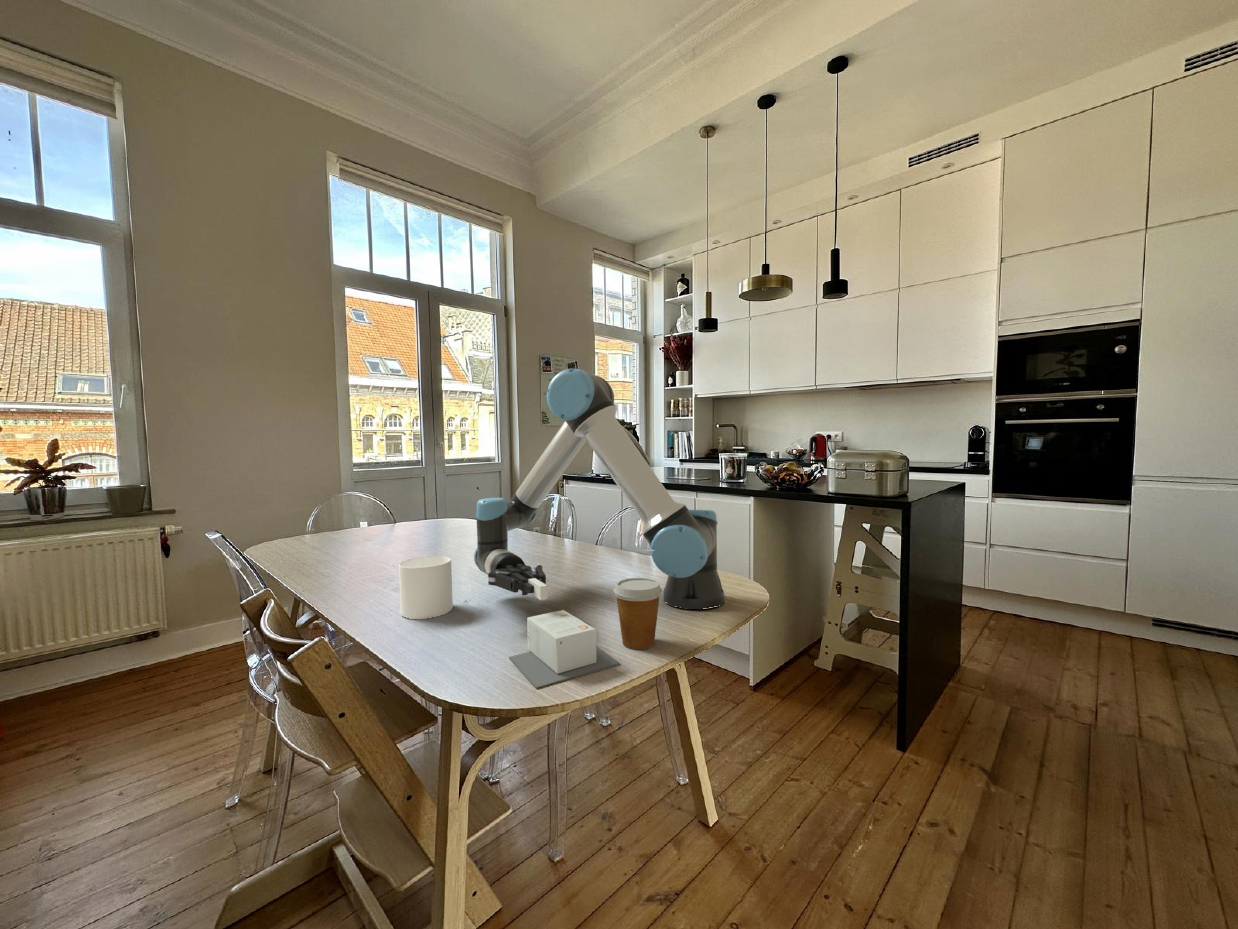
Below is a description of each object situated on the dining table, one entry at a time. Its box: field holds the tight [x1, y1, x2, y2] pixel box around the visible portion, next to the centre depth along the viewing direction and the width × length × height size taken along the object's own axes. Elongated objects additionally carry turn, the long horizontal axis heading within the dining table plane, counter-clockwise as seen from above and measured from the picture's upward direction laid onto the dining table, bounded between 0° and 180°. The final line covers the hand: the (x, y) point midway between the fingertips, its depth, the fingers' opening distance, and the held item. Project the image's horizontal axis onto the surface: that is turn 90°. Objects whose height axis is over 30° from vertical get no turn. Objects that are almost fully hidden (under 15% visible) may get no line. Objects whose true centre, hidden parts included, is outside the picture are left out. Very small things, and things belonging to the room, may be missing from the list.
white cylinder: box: [398, 555, 454, 620], centre depth 118 cm, size 12×12×12 cm
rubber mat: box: [508, 645, 621, 690], centre depth 89 cm, size 16×14×1 cm
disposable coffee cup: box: [613, 577, 663, 650], centre depth 97 cm, size 10×10×12 cm
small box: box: [526, 609, 597, 674], centre depth 91 cm, size 8×6×13 cm
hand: (543, 592), depth 96 cm, fingers closed
